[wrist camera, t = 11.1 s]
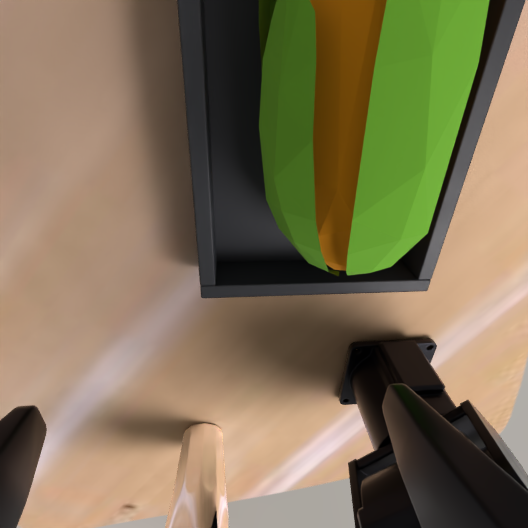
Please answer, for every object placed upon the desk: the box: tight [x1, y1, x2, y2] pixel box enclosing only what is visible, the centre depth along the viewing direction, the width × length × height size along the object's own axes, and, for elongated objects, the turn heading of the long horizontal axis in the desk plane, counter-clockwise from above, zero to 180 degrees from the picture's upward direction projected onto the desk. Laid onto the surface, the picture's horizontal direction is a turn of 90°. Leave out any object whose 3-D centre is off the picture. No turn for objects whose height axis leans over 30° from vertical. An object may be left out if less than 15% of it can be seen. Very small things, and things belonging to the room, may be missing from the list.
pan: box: [177, 0, 525, 298], centre depth 14 cm, size 25×13×3 cm, turn 178°
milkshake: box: [165, 423, 230, 528], centre depth 25 cm, size 4×5×10 cm
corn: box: [259, 0, 489, 276], centre depth 11 cm, size 7×8×20 cm
